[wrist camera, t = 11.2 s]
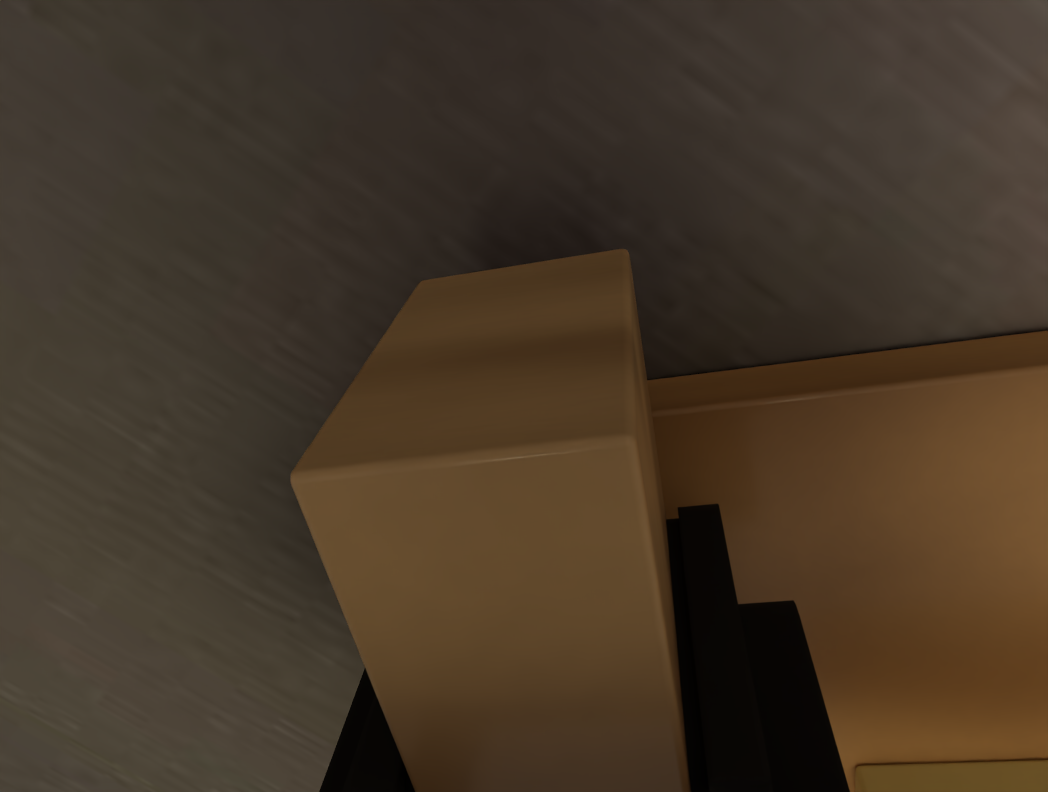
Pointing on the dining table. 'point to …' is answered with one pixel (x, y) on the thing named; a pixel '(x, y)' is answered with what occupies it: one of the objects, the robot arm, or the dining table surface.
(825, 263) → the dining table surface
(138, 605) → the dining table surface
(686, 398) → the board
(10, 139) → the dining table surface
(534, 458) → the knife
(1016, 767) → the butter block
